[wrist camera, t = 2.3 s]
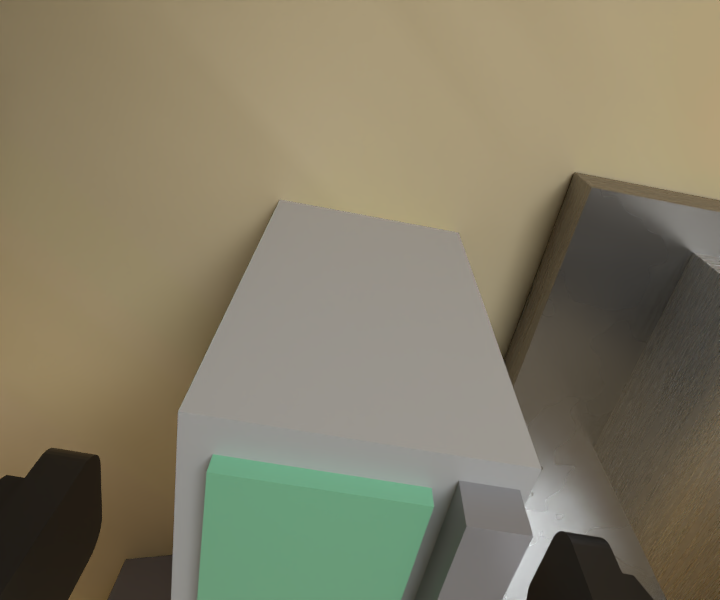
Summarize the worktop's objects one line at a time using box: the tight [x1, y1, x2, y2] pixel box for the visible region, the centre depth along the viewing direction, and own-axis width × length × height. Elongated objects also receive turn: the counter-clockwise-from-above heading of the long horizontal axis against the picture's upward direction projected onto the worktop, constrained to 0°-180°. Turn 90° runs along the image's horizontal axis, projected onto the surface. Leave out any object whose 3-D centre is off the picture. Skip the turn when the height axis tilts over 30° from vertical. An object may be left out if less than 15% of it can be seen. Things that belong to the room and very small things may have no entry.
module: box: [171, 200, 541, 600], centre depth 11 cm, size 6×4×9 cm
